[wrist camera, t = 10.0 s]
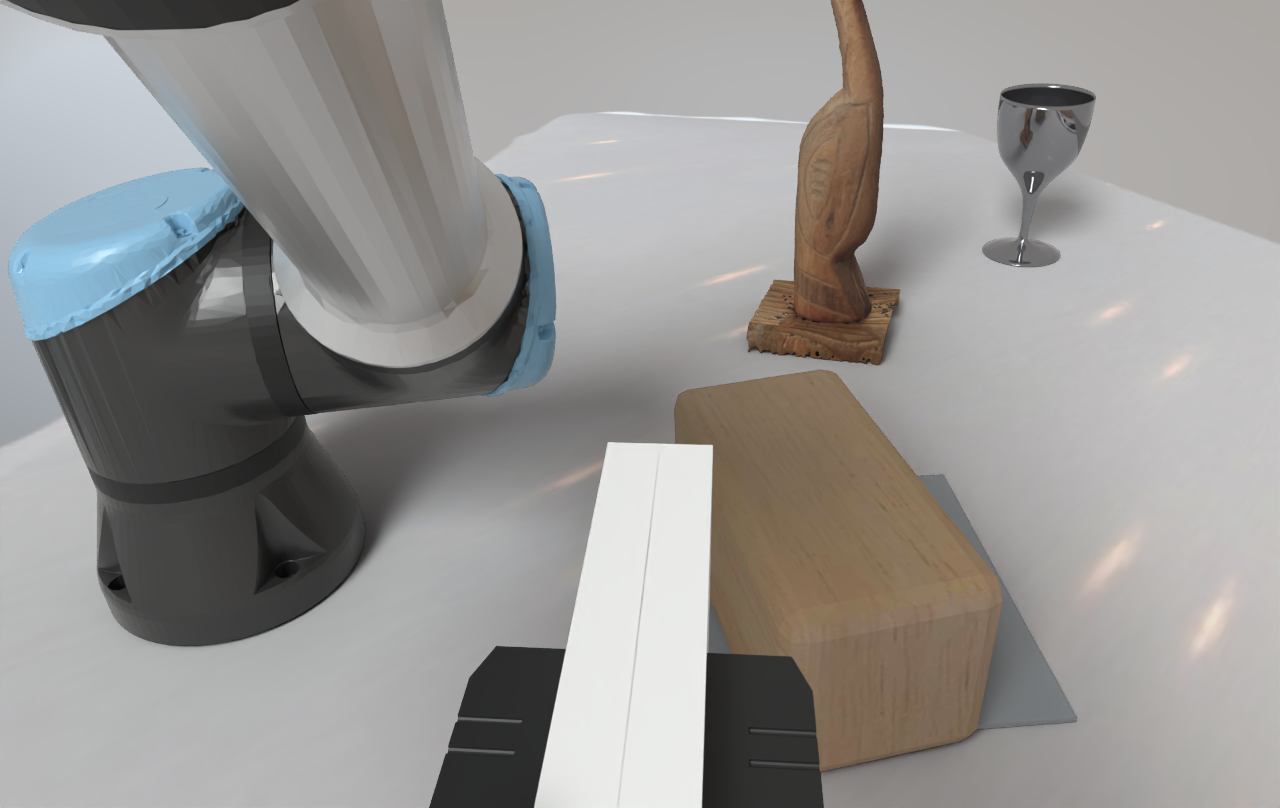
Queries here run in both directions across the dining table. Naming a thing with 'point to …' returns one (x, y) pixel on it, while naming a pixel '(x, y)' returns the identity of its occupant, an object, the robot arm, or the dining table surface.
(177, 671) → the dining table surface
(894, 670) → the wooden block
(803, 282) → the bird sculpture
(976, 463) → the dining table surface
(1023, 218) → the wine glass
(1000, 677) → the mat
